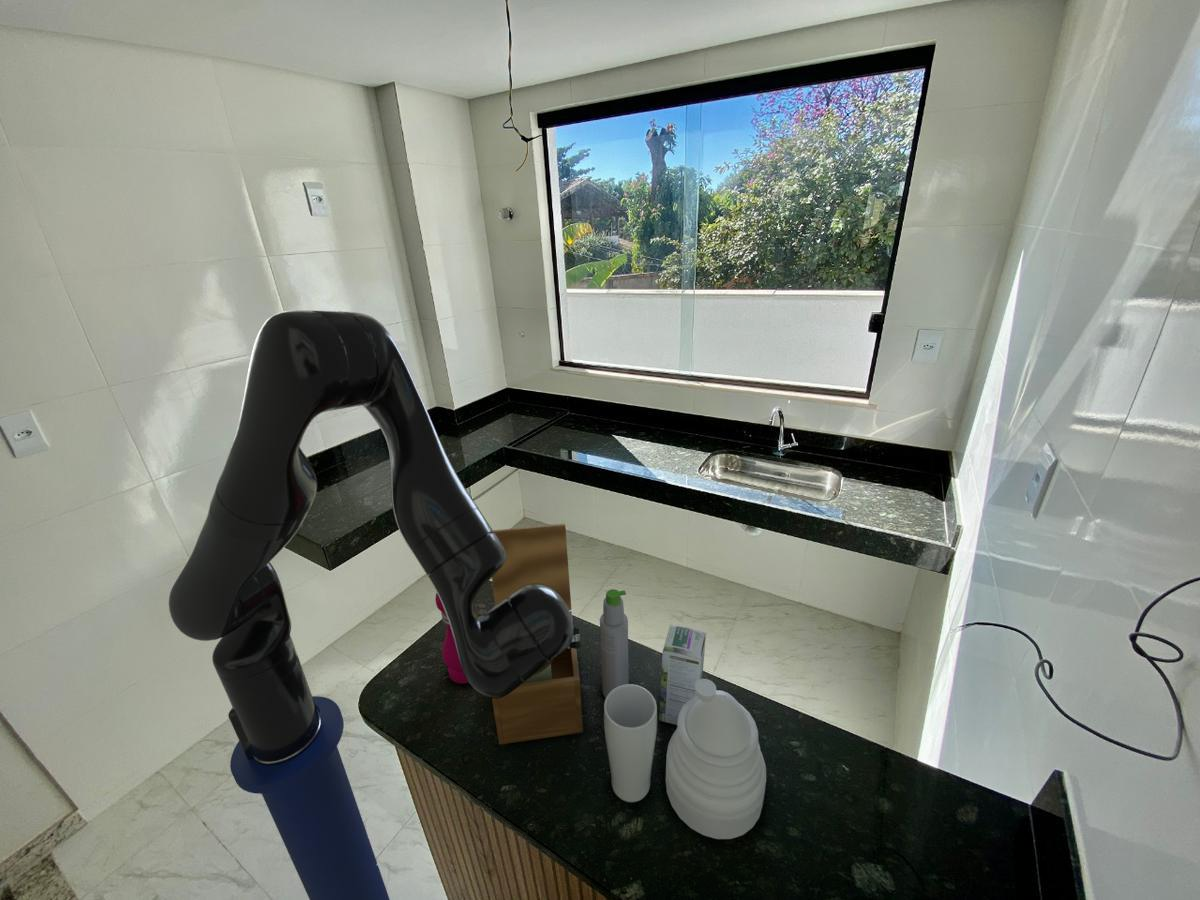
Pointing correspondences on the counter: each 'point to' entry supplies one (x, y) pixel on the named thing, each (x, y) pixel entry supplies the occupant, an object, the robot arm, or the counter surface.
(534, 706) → the keepsake box
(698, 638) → the syrup box
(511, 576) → the cover
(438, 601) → the pepper mill
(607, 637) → the bottle
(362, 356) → the robot arm
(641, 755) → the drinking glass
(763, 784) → the honey pot
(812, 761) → the counter surface
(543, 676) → the block
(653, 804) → the counter surface
